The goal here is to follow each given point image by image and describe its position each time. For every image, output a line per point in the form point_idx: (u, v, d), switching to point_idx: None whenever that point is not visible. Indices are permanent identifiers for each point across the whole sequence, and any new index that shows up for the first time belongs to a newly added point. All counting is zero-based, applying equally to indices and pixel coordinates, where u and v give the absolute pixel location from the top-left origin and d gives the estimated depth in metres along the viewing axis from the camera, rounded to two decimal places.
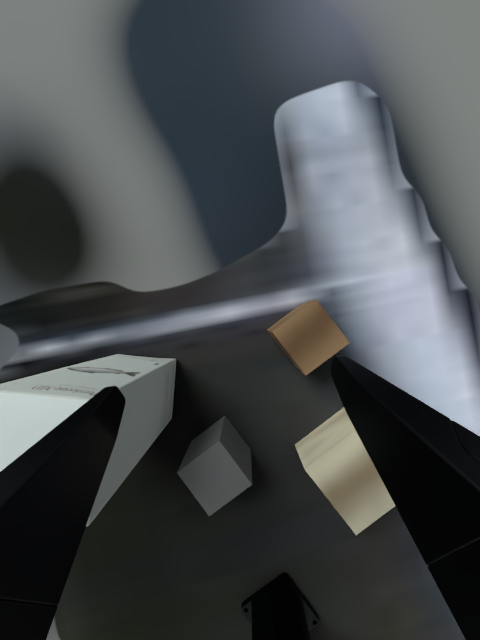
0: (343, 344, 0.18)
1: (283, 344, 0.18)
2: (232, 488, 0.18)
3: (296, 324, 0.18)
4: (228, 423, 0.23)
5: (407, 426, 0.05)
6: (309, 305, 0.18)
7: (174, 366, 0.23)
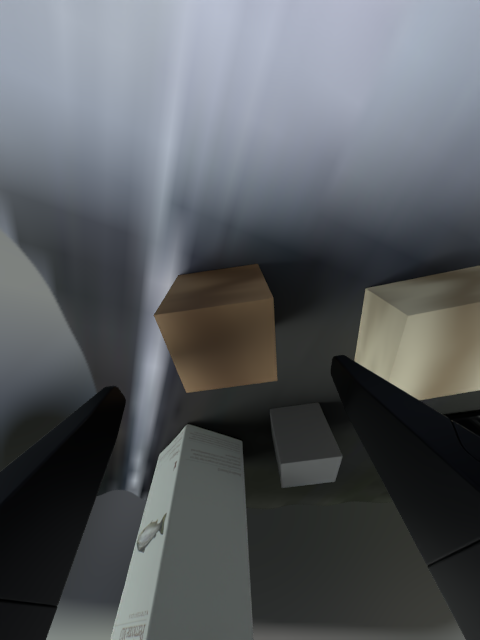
0: (268, 310, 0.08)
1: (213, 387, 0.11)
2: (330, 466, 0.17)
3: (189, 361, 0.10)
4: (278, 413, 0.20)
5: (407, 426, 0.05)
6: (162, 330, 0.09)
7: (192, 431, 0.20)
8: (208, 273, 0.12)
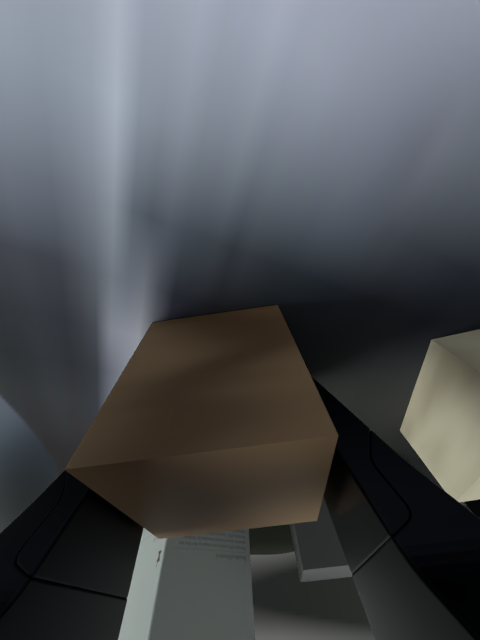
0: (323, 453, 0.04)
1: (205, 531, 0.06)
2: None
3: (158, 513, 0.05)
4: None
5: None
6: (93, 486, 0.04)
7: None
8: (198, 323, 0.07)
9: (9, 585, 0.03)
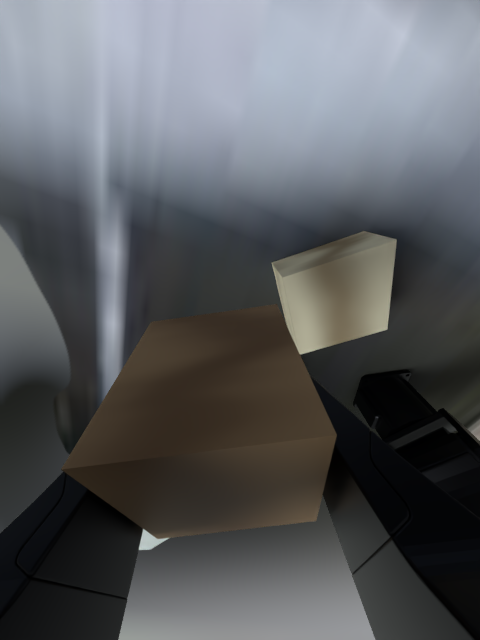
0: (321, 452, 0.04)
1: (203, 531, 0.06)
2: None
3: (156, 513, 0.05)
4: None
5: None
6: (90, 486, 0.04)
7: None
8: (197, 323, 0.07)
9: (9, 585, 0.03)
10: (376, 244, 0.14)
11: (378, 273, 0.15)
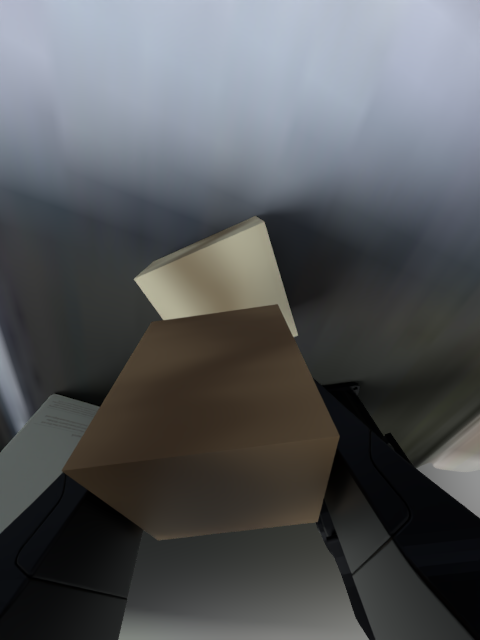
0: (324, 454, 0.04)
1: (204, 532, 0.06)
2: None
3: (157, 514, 0.05)
4: None
5: None
6: (90, 487, 0.04)
7: (56, 400, 0.21)
8: (198, 323, 0.07)
9: (9, 585, 0.03)
10: (243, 230, 0.11)
11: (256, 266, 0.12)
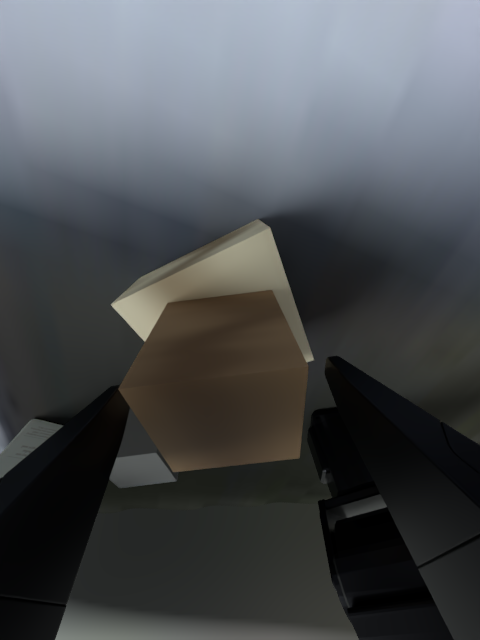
0: (299, 382, 0.05)
1: (210, 466, 0.08)
2: (154, 464, 0.15)
3: (176, 441, 0.07)
4: None
5: (397, 427, 0.05)
6: (134, 407, 0.06)
7: (36, 426, 0.19)
8: (206, 303, 0.09)
9: None
10: (243, 239, 0.08)
11: (262, 283, 0.09)
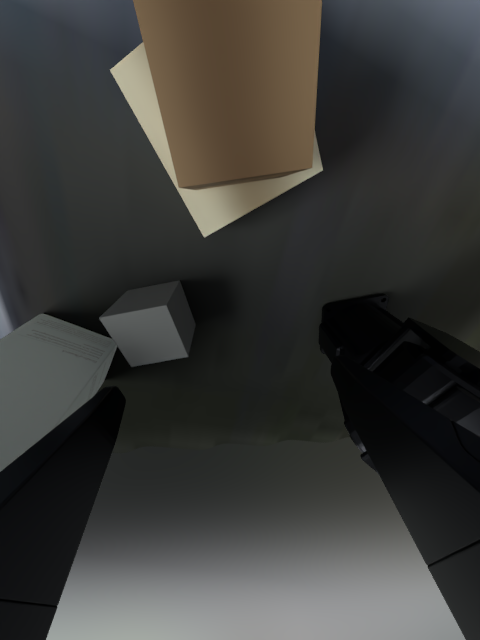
0: None
1: (218, 177, 0.07)
2: (164, 326, 0.15)
3: (181, 99, 0.06)
4: (132, 291, 0.18)
5: (407, 426, 0.05)
6: None
7: (45, 318, 0.19)
8: None
9: None
10: None
11: None
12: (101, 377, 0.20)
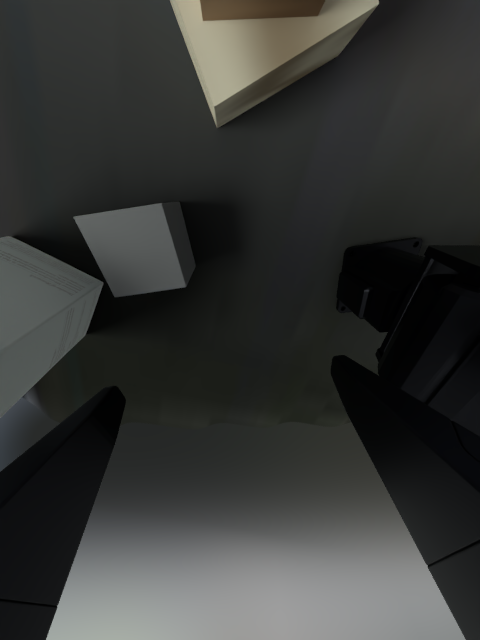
0: None
1: None
2: (158, 237, 0.12)
3: None
4: None
5: (407, 426, 0.05)
6: None
7: (13, 241, 0.15)
8: None
9: None
10: None
11: None
12: (80, 322, 0.17)
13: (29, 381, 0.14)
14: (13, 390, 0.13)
